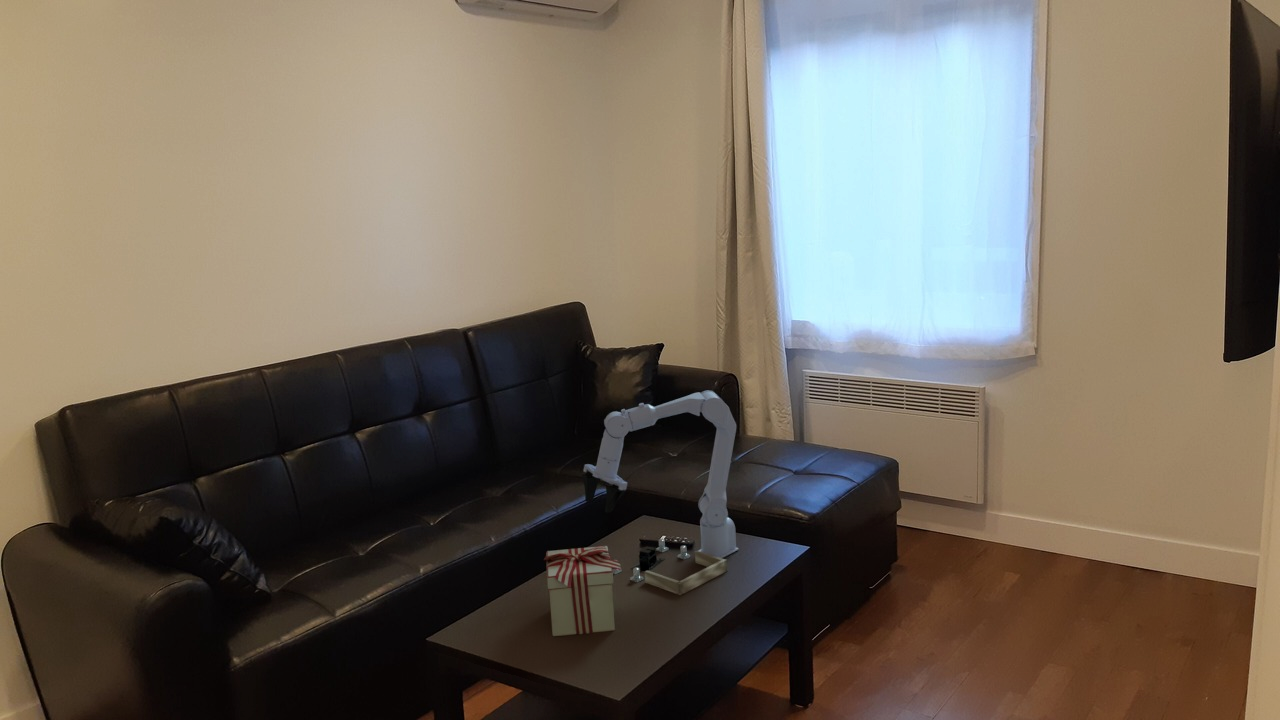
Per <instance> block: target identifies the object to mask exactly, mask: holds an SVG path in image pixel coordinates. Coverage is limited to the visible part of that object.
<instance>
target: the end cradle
mask: <svg viewBox="0 0 1280 720" xmlns="http://www.w3.org/2000/svg"><path fill="white" fill-rule="evenodd" d="M694 557H695V558H694V560H695V561H694V562H695V564H698V565H702V566H704V568H703V569H701V570H699V571H697V572H695V573H693V574H691V575H689V576H687V577H685V578H684V579H681V580H677V579H674V578H671V577H668V576H666V575H663V574H660V573H656V572H653V571H652V570H651V571H648V570H647V571H645V572H644V582H645V584H648V585H651V586H653V587H657V588H659V589H663V590H665V591H668V592H670V593H673V594H676V595H679V596H682V595H684V594H686V593H688V592H689V591H691V590H693V589H695V588H697V587H699V586H701V585H703V584H705V583H707V582H709V581H711V580H713V579H715V578H717V577H719V576H720V575H722V574H724V573H726V572H728V560H727V559H725V558H719V557H716V556H712V555H709V554H706V553H703V552H699V551H698V550H696V551H694ZM705 567H706V568H705Z"/></svg>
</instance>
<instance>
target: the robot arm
mask: <svg viewBox="0 0 1280 720" xmlns="http://www.w3.org/2000/svg"><path fill="white" fill-rule="evenodd" d="M683 413H690V414H692V415H695V416H697V417H700V416H701V414H700V413H702V416H703V417H704V419H705V420H707V421H709V422H710V423H712V424H713V426H714V427H715V428H716V431H715V438H714V443H713V448H712V455H711V462H710V465H709V466H710V468H709V473H708V479H707V484H706V486H705V487H704V491H703V493H702V495H701V496H700V498H699V500H698V503H697V504H698V505H697V506H698V509H699V511H700V513H702V516H701V517H700V519H699V524H700V525H699V526H700V527H699V528H700V545H701V547H700V549H699V550H697V551H699V552H703V553H706V554H709V555H712V556H716V557H719V558H722V559H724V558H726V557H728V556H729V555H731V554H733V553H735V552H736V551H739V547H738V546H737V540H736V539H737V537H736V536H737V535H736V526H735V523H734V521H733V520H732V519H731V518H730V517H729V512H728V509H727V502H728V501H727V499H728V498H727V484H728V479H729V473H730V467H731V462H732V455H733V449H734V444H735V437H736V433H737V422H736V421H735V419H734V417H733V414H732V412H731V410H730V407H729V406H728V405H727V403H725V401H724V400H723V398H721V397H720V396H719V395H718V394H717V393H716V392H714V391H713V390H704V391H701V392H698V391H697V392H694V393H691V394H689V395H686V396H683V397H680V398H677V399H674V400H670V401H668V402H665V403H662V404H659V405H656V406H653V405H651V404H649V403H647V404H644V402H640V403H639V404H638V406H636V407H632V408H628V409H625V408H623V409H621V410H620V411H612V412H609V413H608V414H607V415H606V417H605V418H604V420H603V424H604V427H605V429H604V431H603V436H602V438H601V443H600V447H599V453H598V456H597V460H596V461H597V462H596V465H593V464H589V463H587V464H584V465H583V470H582V471H583V473H584V474H581V479H582V483H583V487H584V497H585V502H586V503H591V502H593V501H594V499H595V494H596V491H597V488H598V485H599V483H600V481H604V482H606V483H608V484H609V485H610V486H609V485H607V486H606V487H605V491H606V498H605V499H606V501H605V506H604V512H605V513H613V510H614V509H615V507H616V505H617V503H618V501H619V500H620V498H621V497H622V496H623V495H624V493H626V492H627V487H628V482H627V481H625V480H623V478H622V477H620V476H619V475H618V470H619V466H620V462H621V457H622V452H623V448H624V440H625V436H627V434H628V433H629V432H634V431H638V430H641V429H644V428H647V427H652V426H654V425H655V424H656V422H657V421H658V420H659V419H662V418H668V417H671V416H676V415H680V414H683Z"/></svg>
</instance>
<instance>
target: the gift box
mask: <svg viewBox="0 0 1280 720" xmlns="http://www.w3.org/2000/svg"><path fill="white" fill-rule="evenodd" d="M615 560H616V559H611V557H610V553H609V547H608V545H599V546H591V547H578V548H569V549H568V548H567V549H557V550H547V551H546V553H545V557H544V559H543V561H545V562H546V567H545V568H546V578H547V579H546V580H547V590H548V602H549V613H550V622H551V631H552V632H551V634H552V637H563V636H573V635H574V636H575V635H583V634H593V633H595V634H596V633H604V632H606V633H607V632H613V631H615V628H616V625H615V615H614V614H615V612H614V601H613V600H614V599H613V598H614V597H613V596H614V595H613V594H614V593H613V584H614V574H613V571H612V569H617V570H621V569H622V566H621V562H620V561H618V560H617V561H615Z"/></svg>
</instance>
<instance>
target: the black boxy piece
mask: <svg viewBox="0 0 1280 720" xmlns="http://www.w3.org/2000/svg"><path fill="white" fill-rule="evenodd" d="M638 560H639V561H638V562H637V563H636V564H635V565H633V566H631V567H630V568H629V569H630V570H633V568H635V567H638V568H639V571H640V572H644V573H645V571H647V570H648V571H651V572H652V570H653V569H655V568H656V567H658V565H660V564H661V563H662V562H664V561H665V560H666V558H662V557H658V556H657V551H656V547H651V546H647V545H646V546H644V548H642V549H640V550H639V554H638Z"/></svg>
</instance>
